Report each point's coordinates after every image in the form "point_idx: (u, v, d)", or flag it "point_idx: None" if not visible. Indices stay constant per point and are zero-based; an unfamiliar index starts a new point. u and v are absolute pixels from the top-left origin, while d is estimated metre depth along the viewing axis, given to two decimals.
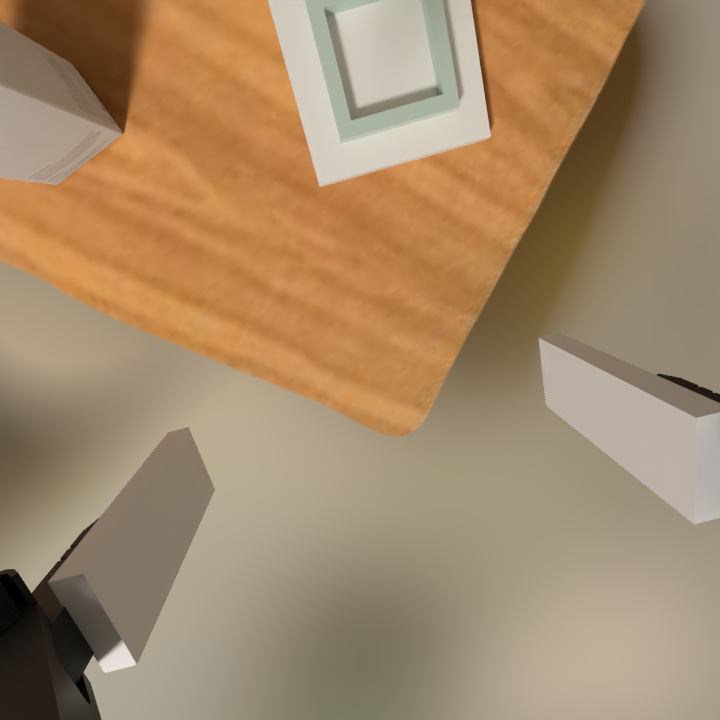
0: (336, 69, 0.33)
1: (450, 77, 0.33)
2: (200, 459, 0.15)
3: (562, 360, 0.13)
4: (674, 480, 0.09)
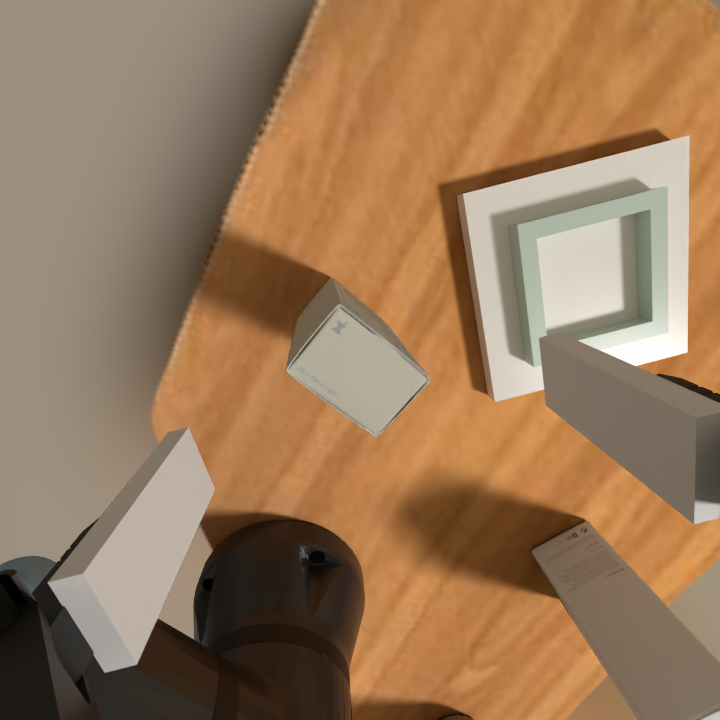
0: (603, 336, 0.30)
1: (635, 200, 0.27)
2: (200, 459, 0.15)
3: (562, 360, 0.13)
4: (674, 480, 0.09)
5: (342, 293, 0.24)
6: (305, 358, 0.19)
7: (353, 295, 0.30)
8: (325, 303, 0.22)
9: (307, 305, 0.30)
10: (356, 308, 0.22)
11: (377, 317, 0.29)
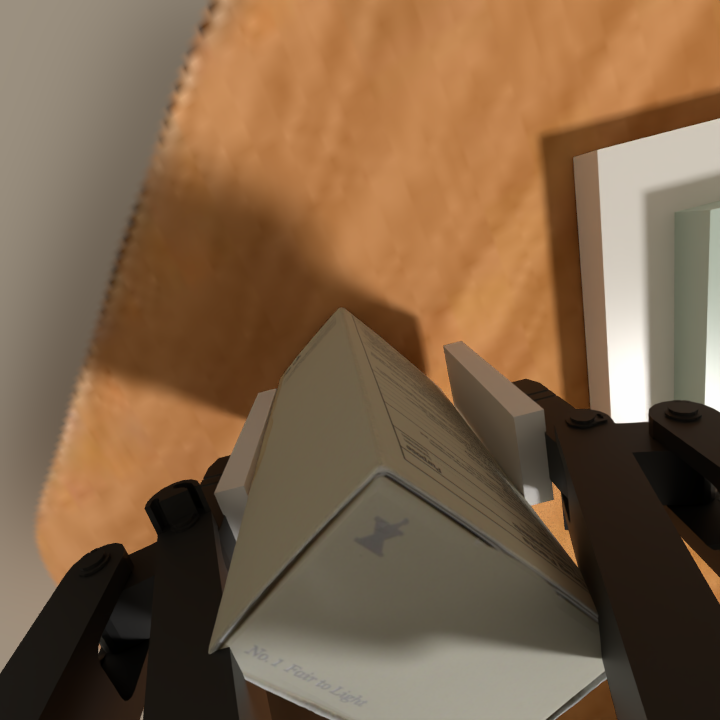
0: None
1: None
2: None
3: (455, 366, 0.15)
4: (513, 470, 0.11)
5: (369, 358, 0.11)
6: (269, 624, 0.06)
7: (381, 338, 0.17)
8: (332, 398, 0.09)
9: (298, 356, 0.17)
10: (409, 410, 0.09)
11: (426, 382, 0.16)
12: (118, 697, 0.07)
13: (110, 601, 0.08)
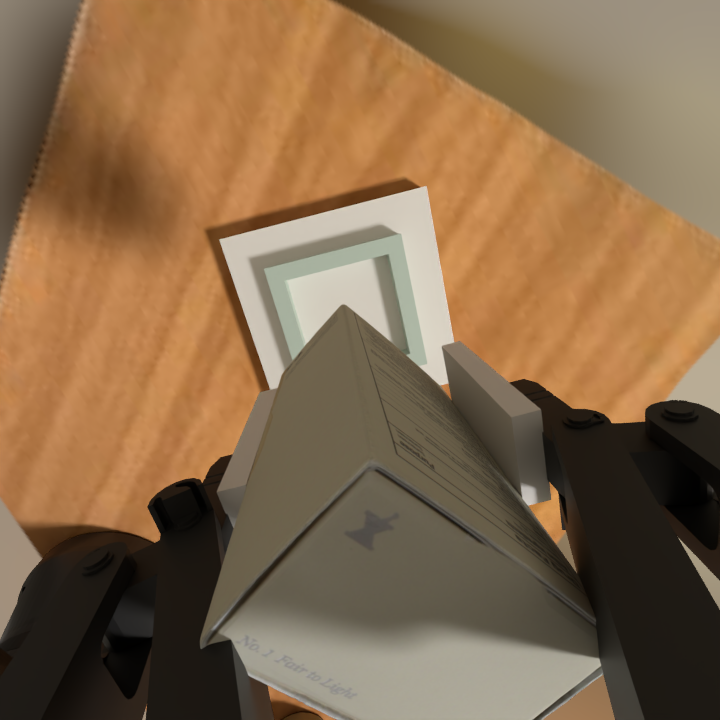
0: None
1: (372, 246, 0.30)
2: None
3: (454, 366, 0.15)
4: (511, 470, 0.11)
5: (368, 355, 0.11)
6: (260, 614, 0.06)
7: (382, 336, 0.17)
8: (329, 394, 0.09)
9: (300, 352, 0.17)
10: (405, 407, 0.09)
11: (427, 380, 0.16)
12: (121, 695, 0.07)
13: (113, 600, 0.08)
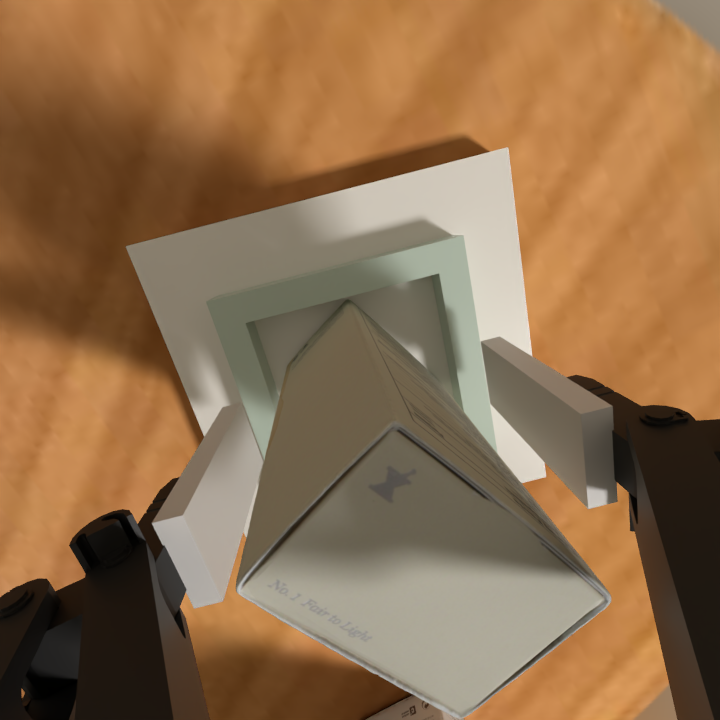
0: None
1: (410, 259, 0.16)
2: (251, 432, 0.16)
3: (497, 362, 0.14)
4: (573, 470, 0.10)
5: (376, 343, 0.12)
6: (290, 560, 0.07)
7: (384, 330, 0.18)
8: (344, 375, 0.10)
9: (305, 344, 0.18)
10: (413, 389, 0.10)
11: (426, 373, 0.17)
12: None
13: (34, 639, 0.08)
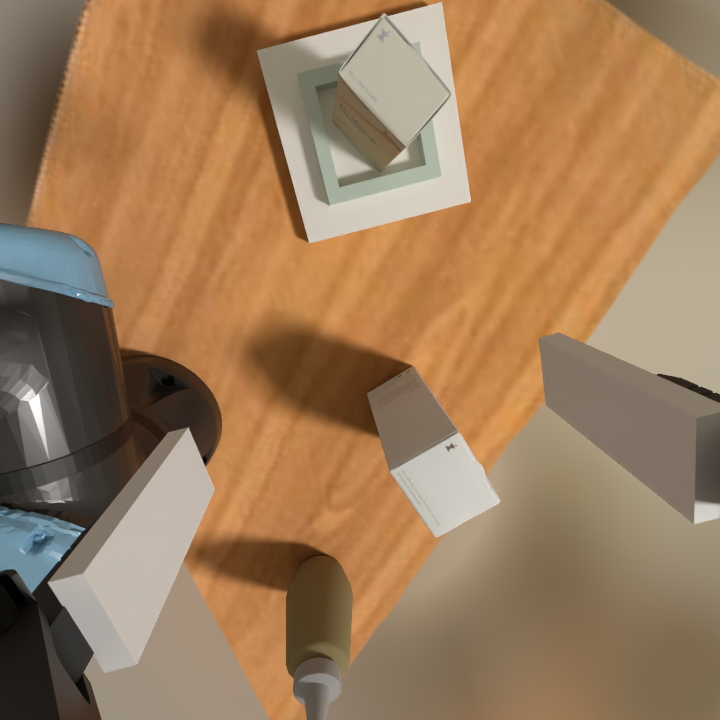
0: (385, 177, 0.36)
1: None
2: (200, 458, 0.15)
3: (562, 360, 0.13)
4: (674, 480, 0.09)
5: None
6: (354, 62, 0.24)
7: None
8: None
9: None
10: None
11: None
12: None
13: None
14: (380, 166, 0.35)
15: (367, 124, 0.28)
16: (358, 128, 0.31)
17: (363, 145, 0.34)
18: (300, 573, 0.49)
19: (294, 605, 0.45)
